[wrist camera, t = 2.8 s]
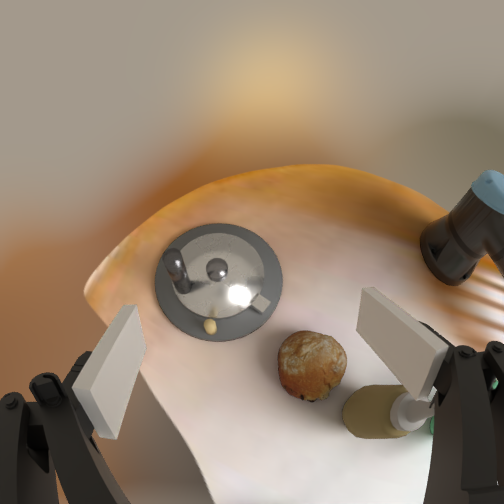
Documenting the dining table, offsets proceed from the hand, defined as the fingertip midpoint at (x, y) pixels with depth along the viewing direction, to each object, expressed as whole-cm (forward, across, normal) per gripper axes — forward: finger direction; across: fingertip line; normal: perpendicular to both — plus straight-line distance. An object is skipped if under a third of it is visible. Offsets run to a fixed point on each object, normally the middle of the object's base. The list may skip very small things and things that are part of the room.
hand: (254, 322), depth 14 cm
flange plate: (+27, -2, -7) cm, 28 cm away
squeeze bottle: (+12, +17, -25) cm, 32 cm away
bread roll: (+18, +10, -19) cm, 28 cm away
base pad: (+28, -2, -8) cm, 29 cm away
